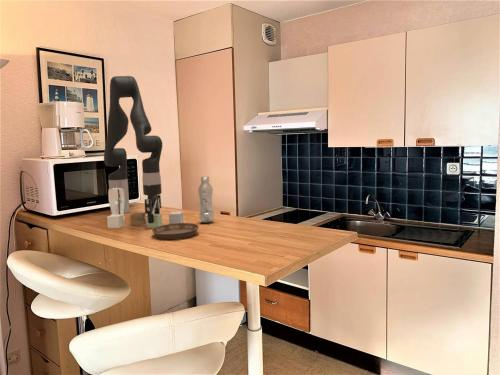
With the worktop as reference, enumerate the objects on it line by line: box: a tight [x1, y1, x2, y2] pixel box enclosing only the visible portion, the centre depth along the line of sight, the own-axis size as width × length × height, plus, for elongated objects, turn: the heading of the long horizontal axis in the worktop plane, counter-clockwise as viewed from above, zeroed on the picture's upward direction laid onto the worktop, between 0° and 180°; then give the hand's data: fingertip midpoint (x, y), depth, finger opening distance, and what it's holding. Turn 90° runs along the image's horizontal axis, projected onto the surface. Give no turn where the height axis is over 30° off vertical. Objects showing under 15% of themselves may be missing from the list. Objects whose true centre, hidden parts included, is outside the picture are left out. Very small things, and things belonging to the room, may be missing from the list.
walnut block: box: [129, 211, 147, 227], centre depth 173 cm, size 5×5×5 cm
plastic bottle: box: [197, 176, 215, 224], centre depth 172 cm, size 6×7×20 cm
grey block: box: [168, 211, 185, 224], centre depth 172 cm, size 5×5×5 cm
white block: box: [106, 214, 125, 229], centre depth 170 cm, size 5×5×5 cm
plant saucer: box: [151, 222, 200, 240], centre depth 152 cm, size 18×18×3 cm
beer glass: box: [107, 188, 126, 222], centre depth 182 cm, size 7×7×15 cm
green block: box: [146, 213, 163, 229], centre depth 168 cm, size 5×5×5 cm
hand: (154, 221), depth 168 cm, fingers open, 8 cm apart
